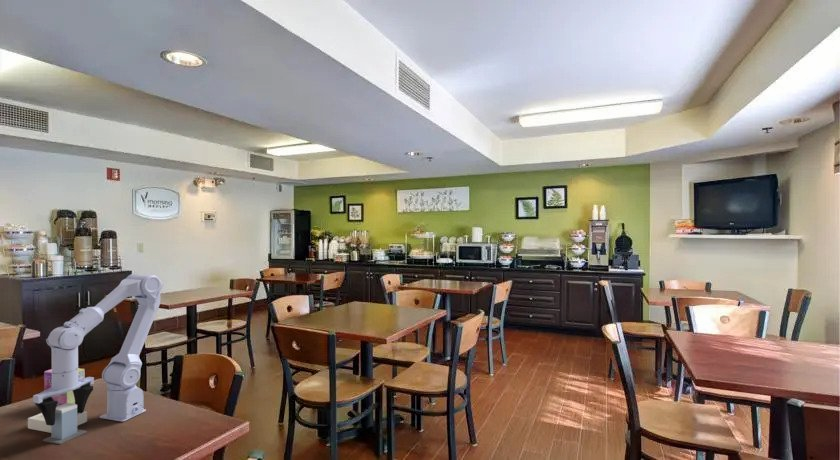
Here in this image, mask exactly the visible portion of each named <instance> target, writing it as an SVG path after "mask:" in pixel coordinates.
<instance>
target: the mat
mask: <svg viewBox="0 0 840 460" xmlns="http://www.w3.org/2000/svg"><path fill="white" fill-rule="evenodd" d="M87 432H88V431H87V430H84V429H79V428H77V433H76V434H73V435H71V436H69V437H67V438H64V439H57V438H52V437H51V435H50V436H48V437H46V438H44V439H42V441H43V442H45V443H51V444H55V445H62V444H64V443H67V442H68V441H71V440H73V439H75V438H78V437H79V436H82V435H84V434H86V433H87Z"/></svg>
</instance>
